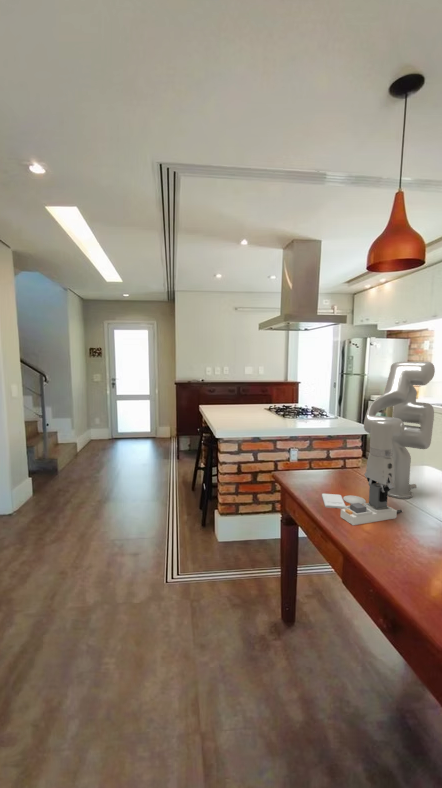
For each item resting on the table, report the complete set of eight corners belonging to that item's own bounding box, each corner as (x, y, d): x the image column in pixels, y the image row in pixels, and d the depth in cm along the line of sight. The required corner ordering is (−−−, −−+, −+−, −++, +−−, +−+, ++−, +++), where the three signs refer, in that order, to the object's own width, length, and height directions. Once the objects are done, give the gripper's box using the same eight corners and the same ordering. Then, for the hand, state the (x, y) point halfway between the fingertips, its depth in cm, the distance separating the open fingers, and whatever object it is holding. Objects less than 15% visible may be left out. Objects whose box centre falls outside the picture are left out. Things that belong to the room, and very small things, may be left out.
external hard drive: (340, 498, 148) (346, 510, 136) (321, 496, 150) (325, 508, 137) (341, 494, 148) (346, 506, 136) (321, 493, 149) (325, 504, 137)
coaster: (355, 495, 150) (355, 494, 150) (370, 503, 142) (370, 502, 142) (338, 497, 147) (338, 496, 147) (352, 505, 139) (352, 505, 139)
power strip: (394, 508, 137) (394, 495, 136) (408, 516, 130) (409, 502, 130) (340, 516, 129) (341, 503, 128) (352, 525, 122) (353, 511, 122)
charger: (378, 502, 133) (379, 482, 132) (386, 507, 128) (388, 486, 127) (368, 503, 131) (369, 483, 130) (377, 508, 127) (378, 487, 126)
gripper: (406, 457, 121) (403, 506, 123) (372, 446, 137) (369, 489, 139) (390, 459, 118) (387, 509, 120) (356, 447, 134) (354, 491, 136)
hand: (378, 498), depth 129 cm, fingers closed on charger, 4 cm apart
